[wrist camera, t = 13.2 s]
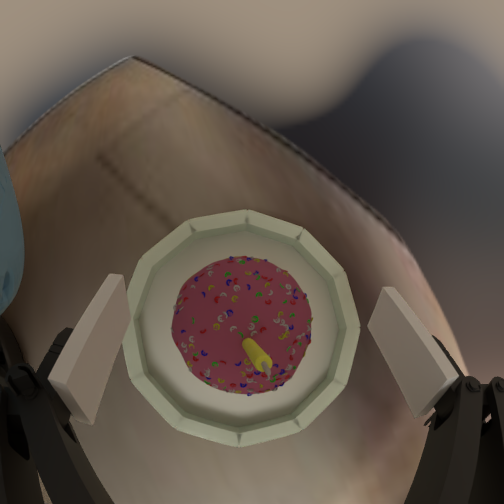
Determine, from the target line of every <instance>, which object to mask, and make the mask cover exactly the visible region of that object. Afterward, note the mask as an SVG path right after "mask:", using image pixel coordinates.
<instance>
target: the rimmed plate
mask: <svg viewBox="0 0 504 504" xmlns="http://www.w3.org/2000/svg"><path fill="white" fill-rule="evenodd" d="M302 230H303V227H301V226H298V225H295V224H292V223H289V222H286V221H283V220H280V219H277V218H274V217H271V216H268V215H265V214H262V213H258V212H255V211H252V210H249V209H248V212H247V209H244V210H238V211H232V212H226V213H220V214H214V215H208V216H202V217H197V218H191V219H189V221H188V220H186V221H185V222H184V223H182V224H181V225H180V226H178V227H177V228H176V229H175V230H173V231H172V232H171V233H170V234H168V235H167V236H166V237H165V238H163V239H162V240H161V241H160V242H158V243H157V244H156V245H155V246H153V247H152V248H151V249H150V250H149V251H147V252H146V253H145V254H144V255H142V256H141V258H142V259H143V260H142V259H139V261H138V264H137V266H136V269H135V271H134V274H133V276H132V279H131V281H130V284H129V287H128V289H127V292H126V294H127V299H128V305H129V310H130V315H131V321H130V324H129V326H128V328H127V331H126V333H125V336H124V338H123V341H122V345H123V351H124V356H125V361H126V366H127V370H128V375H129V379H132V380H131V382H132V383H133V385H134V386H135V387H136V388H137V389H138V390H139V392H140V393H141V394H142V395H143V396H144V397H145V398H146V400H147V401H148V402H149V403H150V404H151V405H152V406H153V407H154V408H155V409H156V411H157V412H158V413H159V414H160V415H161V416H162V417H163V418H164V419H165V420H166V421H167V422H168V423H169V424H170V425H171V426H172V427H173V428H175V427H176V426H177V427H176V430H178V431H181V432H184V433H187V434H190V435H194V436H197V437H200V438H203V439H207V440H210V441H214V442H217V443H221V444H225V445H229V446H233V447H237V448H238V445H239V446H240V448H241V447H245V446H250V445H254V444H258V443H262V442H266V441H270V440H274V439H278V438H281V437H285V436H288V435H291V434H295V433H298V432H301V430H300V428H301V429H302V430H304V429H305V428H306V427H307V426H308V425H309V424H310V423H311V422H312V421H313V420H314V419H315V418H316V417H317V416H318V415H319V414H320V413H321V412H322V411H323V410H324V409H325V408H326V407H327V406H328V405H329V404H330V403H331V402H332V401H333V400H334V399H335V398H336V397H337V396H338V395H339V394H340V392H341V391H342V390H343V389H344V388H345V386H344V385H347V381H348V378H349V374H350V370H351V367H352V363H353V359H354V355H355V351H356V347H357V342H358V338H359V334H360V328H358V327H361V326H360V322H359V318H358V315H357V311H356V307H355V303H354V300H353V296H352V292H351V289H350V285H349V282H348V279H347V275H346V272H343V271H344V269H343V268H342V267H341V265H340V264H339V263H338V262H337V261H336V260H335V259H334V258H333V257H332V256H331V255H330V254H329V253H328V252H327V251H326V250H325V249H324V248H323V247H322V246H321V244H320V243H319V242H318V241H317V240H316V239H315V238H314V237H313V236H312V235H311V234H310V233H309V232H308V231H307V230H306V229H304V230H303V231H302ZM230 256H232V257H235V256H247V257H251V256H253V257H254V258H259V259H263V260H264V259H267V261H268V262H270V263H272V264H274V265H276V266H278V267H279V268H281V269H283V270H286V271H288V273H289V274H290V275H291V276H292V277H293V278H294V279H295V280H296V282H297V283H298V285H299V286H300V288H301V289H302V291H303V293H306V294H307V299H308V300H309V305H310V308H311V313H312V315H311V318H312V317H313V320H312V322H311V328H312V330H311V343H310V342H309V343H310V344H309V345H308V347H307V350H306V352H305V353H306V354H305V357H303V358H302V360H301V362H300V364H299V366H298V368H297V370H296V371H295V373H294V375H293V377H292V378H291V379H290V380H288V381H287V382H285V383H284V385H283V386H279V387H278V390H277V391H269V392H265V393H260V394H252V395H251V396H247V394H235V393H229V392H228V393H226V392H225V391H221V390H218V389H216V388H213V387H211V386H209V385H207V384H206V383H204V382H202V381H201V380H199V379H198V378H197V377H196V376H194V375H193V374H192V373H191V372H189V369H188V367H187V365H186V363H185V361H184V359H183V357H182V355H181V353H180V351H179V349H178V348H177V346H176V344H175V343H174V340H173V338H172V334H171V329H170V328H171V327H172V320H173V315H174V309H175V307H174V309H173V306H174V305H175V304H176V301H177V296H178V294H179V291H180V289H181V287H182V285H183V284H184V283H185V282H186V281H187V280H188V279H189V278H190V277H191V276H192V275H194V274H195V273H197V272H198V271H200V270H201V269H203V268H204V267H206V266H207V265H209V264H211V263H213V262H216V261H219V260H223V259H226V258H229V257H230Z"/></svg>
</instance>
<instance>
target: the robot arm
mask: <svg viewBox="0 0 504 504" xmlns="http://www.w3.org/2000/svg"><path fill="white" fill-rule="evenodd" d="M24 257H25V251H24V236H23V228H22V222H21V217H20V212H19V207H18V203H17V199H16V195H15V191H14V188H13V185H12V181H11V177H10V174H9V170H8V167H7V164H6V161H5V158H4V155H3V152H2V149H1V146H0V315H1V314H2V313H3V312H4V311H5V310H6V309H7V307H8V306H9V305H10V304H11V302H12V301H13V299H14V297H15V296H16V294H17V291H18V289H19V286H20V283H21V280H22V275H23V270H24ZM130 321H131V315H130V310H129V305H128V299H127V294H126V288H125V282H124V275H121V274H109V275H108V276H107V278H106V279H105V281H104V282H103V284H102V285H101V287H100V288H99V290H98V291H97V293H96V295H95V296H94V298H93V299H92V301H91V302H90V304H89V306H88V307H87V309H86V310H85V312H84V314H83V315H82V317H81V319H80V320H79V322H78V324H77V325H76V327H75V329H72V328H67V327H66V328H65V329H64V330H63V331H61V332H60V333H59V334H58V335H57V337H56V338H55V340H54V342H53V345H51V347H50V349H49V352H47V354H46V356H45V357H44V359H43V361H42V363H41V365H40V366H39V368H38V370H37V372H36V373H35V371H34V369H33V368H32V367H31V366H30V365H29V364H26V363H24V361H23V358H22V355H21V352H20V349H19V347H18V344H17V342H16V339H15V337H14V335H13V333H12V331H11V330H10V328H9V326H8V325H7V323H6V322H5V320H4V319H3V318H2V317H1V316H0V504H44V500H43V496H42V492H41V487H40V482H39V477H38V472H39V475H40V477H41V480H42V482H43V484H44V487H45V489H46V491H47V493H48V495H49V497H50V499H51V501H52V503H53V504H114V502H113V501H112V499H111V498H110V496H109V495H108V493H107V492H106V490H105V488H104V487H103V485H102V484H101V482H100V480H99V478H98V477H97V475H96V473H95V472H94V470H93V468H92V466H91V464H90V463H89V461H88V459H87V457H86V455H85V453H84V451H83V449H82V447H81V445H80V443H79V441H78V439H77V436H76V434H75V432H74V430H73V427H72V425H71V423H70V422H69V418H70V415H71V414H72V415H73V417H74V418H75V419H76V421H79V422H82V423H86V424H89V425H93V424H94V421H95V417H96V414H97V411H98V408H99V405H100V402H101V399H102V396H103V393H104V390H105V387H106V384H107V381H108V378H109V375H110V373H111V370H112V367H113V364H114V362H115V359H116V356H117V354H118V351H119V348H120V346H121V343H122V341H123V338H124V336H125V333H126V331H127V328H128V326H129V324H130ZM367 327H368V329H369V331H370V333H371V334H372V336H373V338H374V340H375V342H376V344H377V345H378V347H379V349H380V351H381V353H382V355H383V357H384V358H385V360H386V362H387V364H388V366H389V368H390V370H391V372H392V374H393V376H394V378H395V380H396V382H397V383H398V385H399V387H400V389H401V391H402V393H403V396H404V398H405V400H406V402H407V404H408V406H409V408H410V410H411V412H412V414H413V416H414V418H417V417H420V416H423V415H426V414H427V413H428V412H429V411H430V410H431V409H432V408H433V407H434V408H435V410H436V411H435V412H434V413H433V415H432V416H431V417H430V418H429V419H428V420H427V421H426V422H425V424H424V426H426V425H427V424H428V423H429V422H430V421H431V424H430V425H429V426H428V427H430V428H429V432H428V436H427V439H426V443H425V447H424V450H423V453H422V457H421V460H420V463H419V466H418V469H417V472H416V474H415V477H414V480H413V483H412V485H411V488H410V490H409V493H408V495H407V498H406V500H405V502H404V504H504V379H503V378H501V377H494V378H493V379H492V380H491V382H490V383H489V384H480V382H479V381H478V380H477V379H476V378H474V377H472V376H466V377H465V376H464V374H463V373H462V371H461V370H460V368H459V367H458V365H457V364H456V363H455V361H454V360H453V358H452V357H451V356H450V354H449V352H448V351H447V350H446V348H445V347H444V345H443V344H442V343H441V341H439V340H438V339H437V338H436V337H435V336H433V335H432V336H431V334H430V333H429V332H428V330H427V329H426V327H425V326H424V325H423V323H422V322H421V321H420V319H419V318H418V317H417V316H416V314H415V313H414V312H413V310H412V309H411V308H410V307H409V305H408V304H407V303H406V301H405V300H404V299H403V298H402V296H401V295H400V294H399V293H398V291H397V290H396V289H395V288H394V287H382V290H381V293H380V295H379V298H378V301H377V303H376V306H375V308H374V311H373V313H372V316H371V318H370V320H369V323H368V325H367ZM490 413H491V419H490V420H489V421H488V422H487V423H486V421H485V418H487V416H488V415H489V414H490ZM37 470H38V472H37Z"/></svg>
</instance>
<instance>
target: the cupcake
mask: <svg viewBox="0 0 504 504" xmlns="http://www.w3.org/2000/svg"><path fill="white" fill-rule="evenodd" d="M174 307H175V309H174ZM173 309H174V315H173V320H172V327H171V328H170V329H171V334H172V338H173V340H174V343H175V344H176V346H177V348H178V349H179V351H180V353H181V355H182V357H183V359H184V361H185V363H186V365H187V367H188V369H189V372H191V373H192V374H193V375H194V376H196V377H197V378H198V379H199V380H201V381H202V382H204V383H206V384H207V385H209V386H211V387H213V388H216V389H218V390H221V391H225V392H226V393H228V392H229V393H235V394H247V396H251V395H252V394H260V393H265V392H269V391H277V390H278V387H279V386H283V385H284V383H285V382H287V381H288V380H290V379H291V378H292V377H293V375H294V373H295V371H296V370H297V368H298V366H299V364H300V362H301V360H302V358H303V357H305V354H306V353H305V352H306V350H307V347H308V345H309V344H310V343H311V330H312V328H311V322H312V320H313V317H312V318H311V315H312V313H311V308H310V305H309V300H308V299H307V294H306V293H303V291H302V289H301V288H300V286H299V285H298V283H297V282H296V280H295V279H294V278H293V277H292V276H291V275H290V274H289V273H288V271H286V270H283V269H281V268H279V267H278V266H276V265H274V264H272V263H270V262H268V261H267V259H264V260H263V259H259V258H254V257H253V256H251V257H247V256H235V257H232V256H230V257H229V258H226V259H223V260H219V261H216V262H213V263H211V264H209V265H207V266H206V267H204V268H203V269H201V270H200V271H198V272H197V273H195V274H194V275H192V276H191V277H190V278H189V279H188V280H187V281H186V282H185V283H184V284H183V285H182V287H181V289H180V291H179V294H178V296H177V301H176V304H175V305H174V306H173ZM309 342H310V343H309Z"/></svg>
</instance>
